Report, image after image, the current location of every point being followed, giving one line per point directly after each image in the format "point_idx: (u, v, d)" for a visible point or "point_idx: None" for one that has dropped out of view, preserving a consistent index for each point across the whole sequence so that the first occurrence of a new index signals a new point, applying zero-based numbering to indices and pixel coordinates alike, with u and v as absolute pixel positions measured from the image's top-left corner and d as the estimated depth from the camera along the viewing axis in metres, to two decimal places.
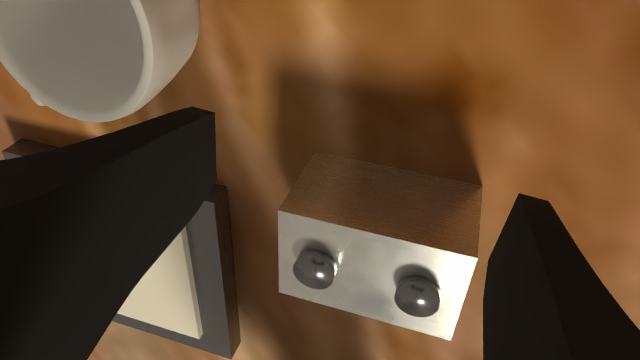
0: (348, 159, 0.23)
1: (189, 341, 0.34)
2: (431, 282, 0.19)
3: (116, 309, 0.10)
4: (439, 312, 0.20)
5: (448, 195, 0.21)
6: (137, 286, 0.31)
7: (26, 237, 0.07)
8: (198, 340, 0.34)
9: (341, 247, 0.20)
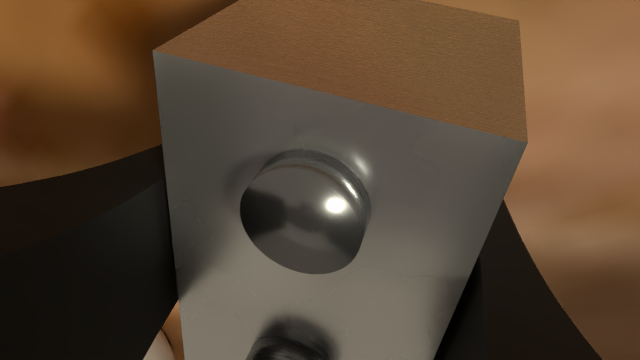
0: None
1: None
2: (259, 170, 0.07)
3: (160, 325, 0.10)
4: (385, 162, 0.06)
5: None
6: None
7: (87, 258, 0.07)
8: None
9: (230, 315, 0.09)
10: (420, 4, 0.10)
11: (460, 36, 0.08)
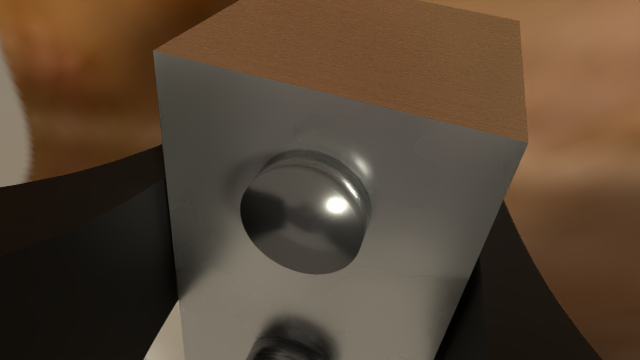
0: None
1: None
2: (260, 170, 0.07)
3: (160, 325, 0.10)
4: (386, 162, 0.06)
5: None
6: None
7: (87, 258, 0.07)
8: None
9: (230, 315, 0.09)
10: (420, 5, 0.10)
11: (460, 36, 0.08)
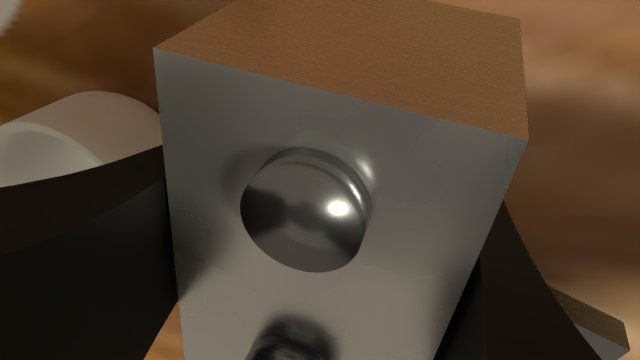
0: None
1: None
2: (260, 168, 0.07)
3: (160, 325, 0.10)
4: (386, 159, 0.06)
5: None
6: None
7: (88, 258, 0.07)
8: None
9: (230, 313, 0.09)
10: (421, 3, 0.10)
11: (461, 35, 0.08)
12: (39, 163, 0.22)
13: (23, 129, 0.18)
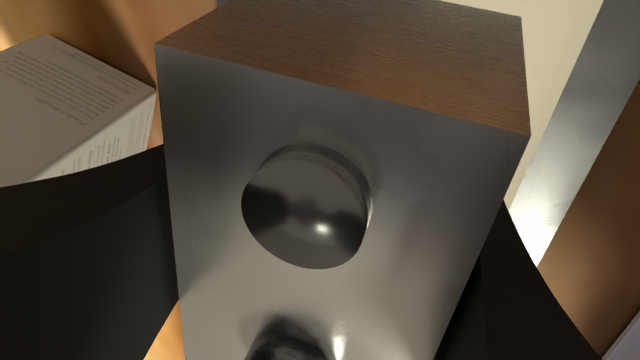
0: None
1: None
2: (261, 164, 0.07)
3: (160, 325, 0.10)
4: (388, 155, 0.06)
5: None
6: None
7: (87, 258, 0.07)
8: None
9: (230, 311, 0.09)
10: (422, 0, 0.10)
11: (462, 32, 0.08)
12: None
13: None
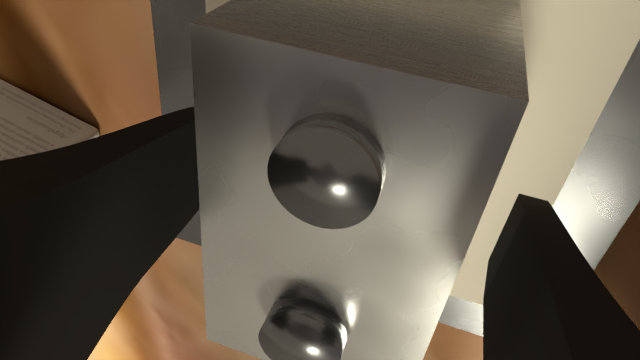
0: None
1: (450, 314, 0.17)
2: (285, 133, 0.08)
3: (116, 309, 0.10)
4: (401, 122, 0.07)
5: None
6: None
7: (26, 237, 0.07)
8: (475, 313, 0.16)
9: (251, 277, 0.10)
10: None
11: (466, 16, 0.09)
12: None
13: None
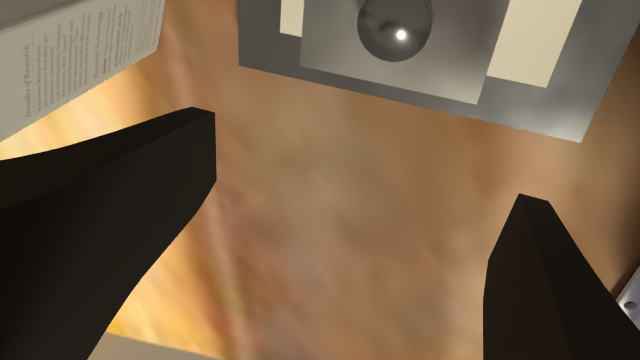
0: None
1: (498, 110, 0.18)
2: None
3: (116, 309, 0.10)
4: None
5: None
6: None
7: (27, 237, 0.07)
8: (522, 104, 0.18)
9: None
10: None
11: None
12: None
13: None
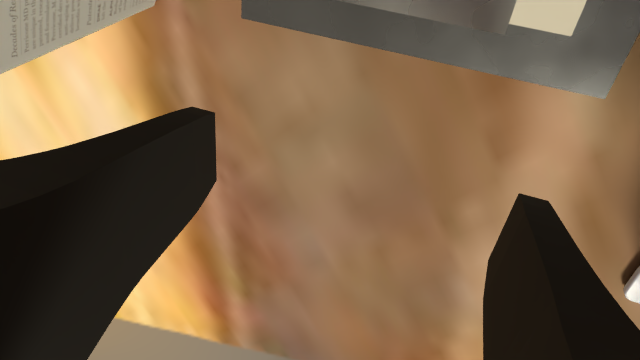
0: None
1: (518, 63, 0.17)
2: None
3: (116, 309, 0.10)
4: None
5: None
6: None
7: (26, 237, 0.07)
8: (544, 56, 0.17)
9: None
10: None
11: None
12: None
13: None
